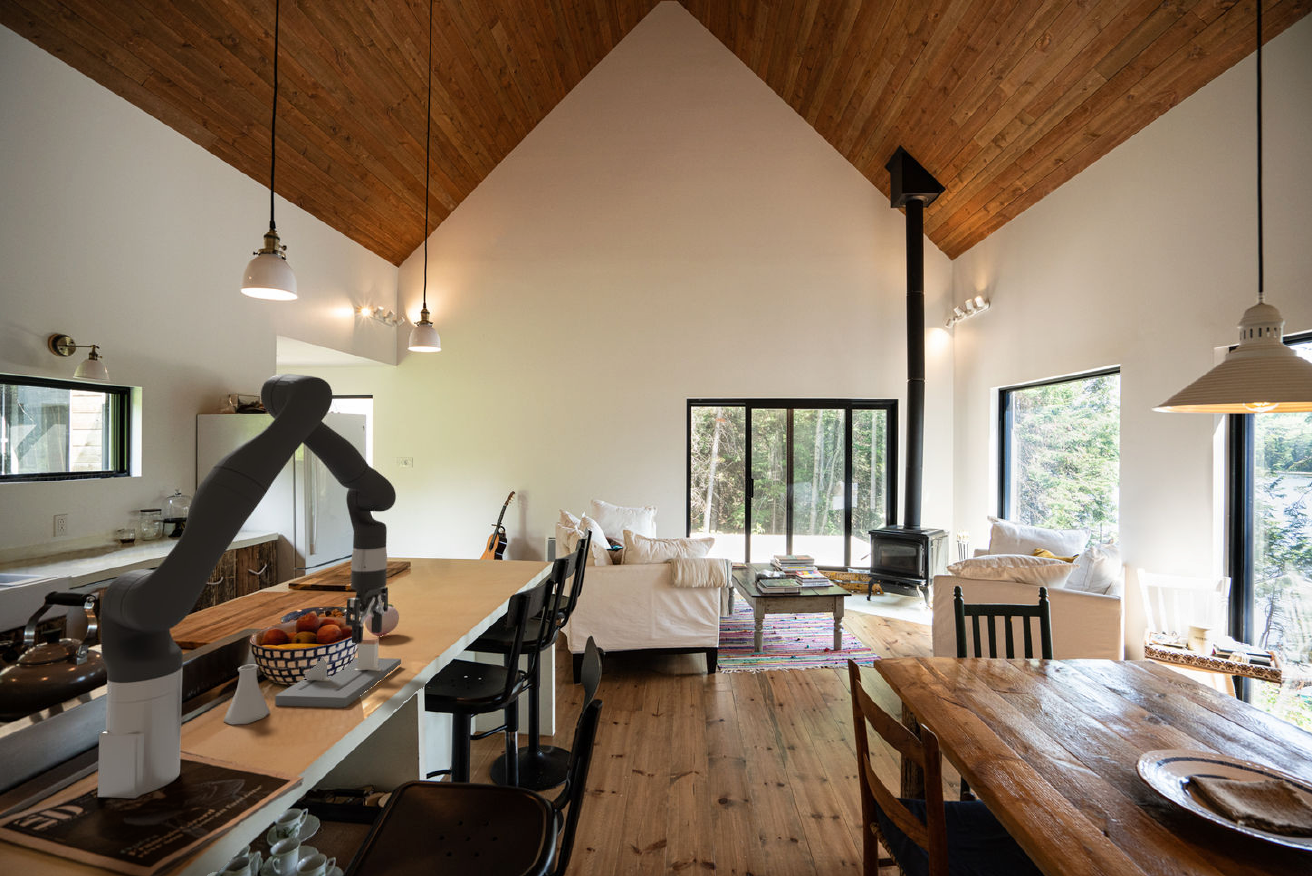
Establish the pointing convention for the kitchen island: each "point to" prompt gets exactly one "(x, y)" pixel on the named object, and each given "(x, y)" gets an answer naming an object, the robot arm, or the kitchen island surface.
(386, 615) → the decorative fruit
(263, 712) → the flask
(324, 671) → the fader
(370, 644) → the fader
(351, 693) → the gray slotted board
